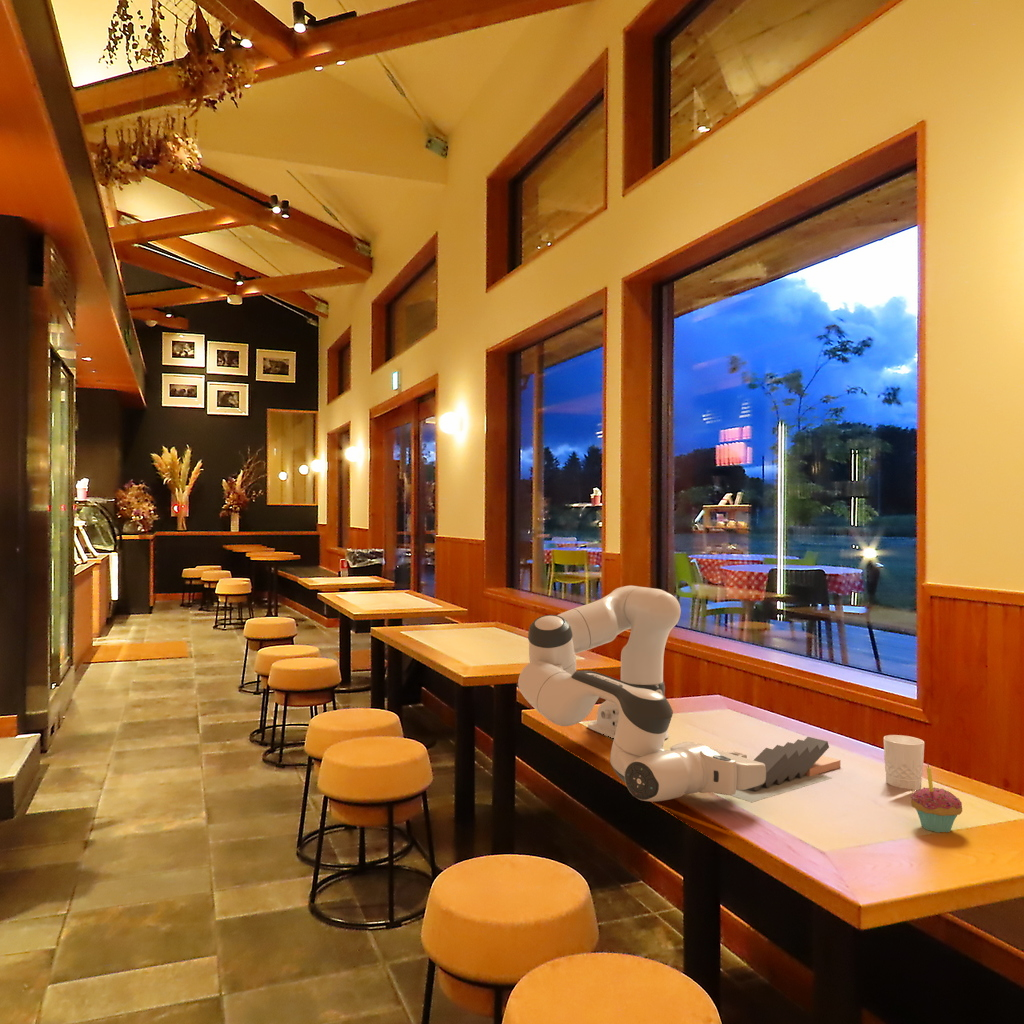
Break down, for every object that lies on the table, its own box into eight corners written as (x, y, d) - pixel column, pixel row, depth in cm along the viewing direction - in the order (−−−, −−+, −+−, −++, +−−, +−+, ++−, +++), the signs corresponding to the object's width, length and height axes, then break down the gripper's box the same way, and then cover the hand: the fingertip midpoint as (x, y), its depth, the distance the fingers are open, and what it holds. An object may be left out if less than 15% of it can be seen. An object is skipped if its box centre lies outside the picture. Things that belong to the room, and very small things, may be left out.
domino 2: (745, 776, 173) (777, 744, 180) (747, 782, 173) (778, 751, 180) (765, 782, 169) (797, 750, 176) (767, 788, 169) (798, 756, 176)
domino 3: (757, 772, 175) (787, 742, 182) (759, 779, 176) (789, 748, 182) (777, 778, 171) (807, 747, 178) (779, 785, 172) (809, 753, 178)
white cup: (929, 793, 169) (929, 745, 170) (888, 790, 171) (888, 743, 171) (918, 782, 177) (918, 736, 177) (879, 779, 179) (879, 733, 179)
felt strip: (703, 789, 170) (704, 786, 170) (784, 767, 187) (784, 764, 187) (751, 805, 161) (751, 802, 161) (832, 780, 177) (832, 777, 177)
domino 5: (779, 766, 180) (807, 736, 187) (780, 772, 180) (809, 742, 187) (799, 772, 176) (827, 741, 183) (800, 778, 176) (829, 747, 183)
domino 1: (733, 779, 171) (766, 747, 177) (735, 785, 171) (767, 753, 178) (753, 785, 167) (786, 753, 173) (755, 792, 167) (787, 759, 174)
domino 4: (768, 769, 178) (798, 739, 184) (770, 775, 178) (799, 745, 185) (788, 775, 174) (817, 744, 180) (790, 781, 174) (819, 750, 181)
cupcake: (939, 839, 144) (939, 771, 145) (899, 823, 152) (899, 758, 152) (972, 832, 148) (973, 766, 148) (932, 817, 156) (932, 754, 156)
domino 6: (790, 763, 182) (820, 755, 190) (789, 770, 182) (820, 761, 190) (809, 768, 178) (840, 760, 186) (809, 776, 178) (840, 767, 186)
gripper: (656, 770, 168) (701, 760, 176) (737, 798, 152) (782, 785, 160) (657, 739, 168) (702, 731, 176) (738, 764, 152) (783, 753, 160)
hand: (741, 757), depth 168 cm, fingers closed
